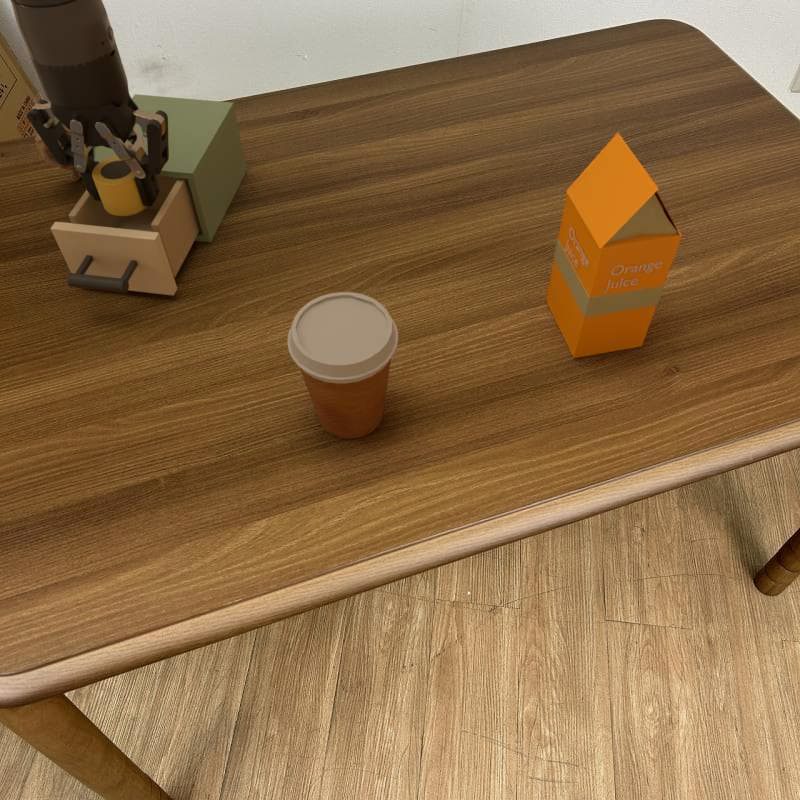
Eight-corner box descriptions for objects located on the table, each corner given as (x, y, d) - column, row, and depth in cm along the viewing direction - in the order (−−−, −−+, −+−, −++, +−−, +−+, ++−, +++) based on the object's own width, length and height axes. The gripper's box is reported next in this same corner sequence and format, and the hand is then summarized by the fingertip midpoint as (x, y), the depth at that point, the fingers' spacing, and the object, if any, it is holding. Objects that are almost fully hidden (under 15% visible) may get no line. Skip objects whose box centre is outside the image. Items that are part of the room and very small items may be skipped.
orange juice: (610, 289, 83) (657, 125, 67) (643, 346, 77) (703, 183, 62) (543, 300, 82) (575, 137, 66) (572, 359, 76) (614, 196, 61)
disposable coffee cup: (419, 421, 71) (420, 336, 62) (335, 470, 68) (323, 387, 59) (364, 361, 76) (357, 273, 67) (283, 404, 73) (264, 317, 64)
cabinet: (211, 242, 88) (192, 173, 81) (111, 232, 90) (83, 163, 82) (247, 171, 97) (233, 102, 90) (155, 162, 99) (134, 94, 91)
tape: (96, 213, 79) (83, 181, 76) (115, 185, 82) (103, 153, 79) (140, 218, 79) (129, 186, 75) (158, 190, 82) (148, 157, 78)
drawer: (159, 323, 79) (138, 268, 73) (59, 311, 80) (30, 255, 74) (213, 218, 90) (199, 162, 83) (124, 209, 91) (103, 153, 85)
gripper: (-25, 56, 65) (48, 214, 79) (130, 69, 64) (178, 228, 77) (16, 17, 70) (79, 172, 83) (161, 28, 68) (201, 185, 82)
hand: (126, 198), depth 80 cm, fingers closed on tape, 5 cm apart
